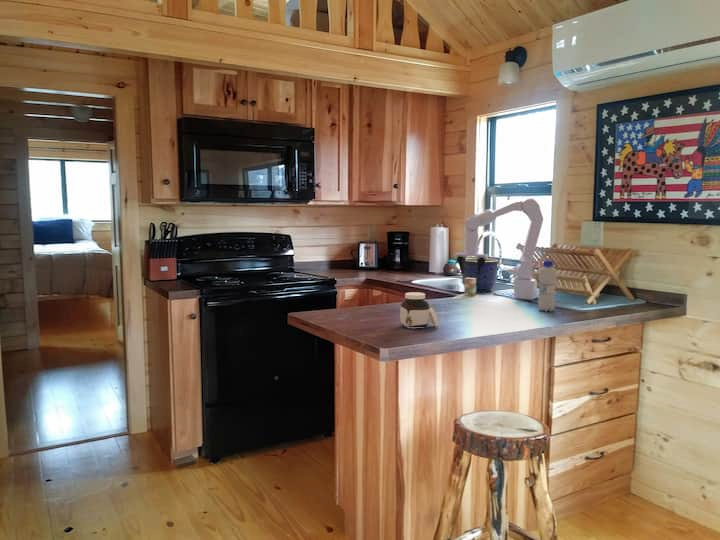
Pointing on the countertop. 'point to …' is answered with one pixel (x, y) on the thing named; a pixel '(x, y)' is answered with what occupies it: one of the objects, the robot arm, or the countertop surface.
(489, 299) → the white rectangular panel
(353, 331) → the countertop surface
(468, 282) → the maple cube
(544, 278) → the bottle
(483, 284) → the planter
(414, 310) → the spread jar
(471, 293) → the sage base cube
